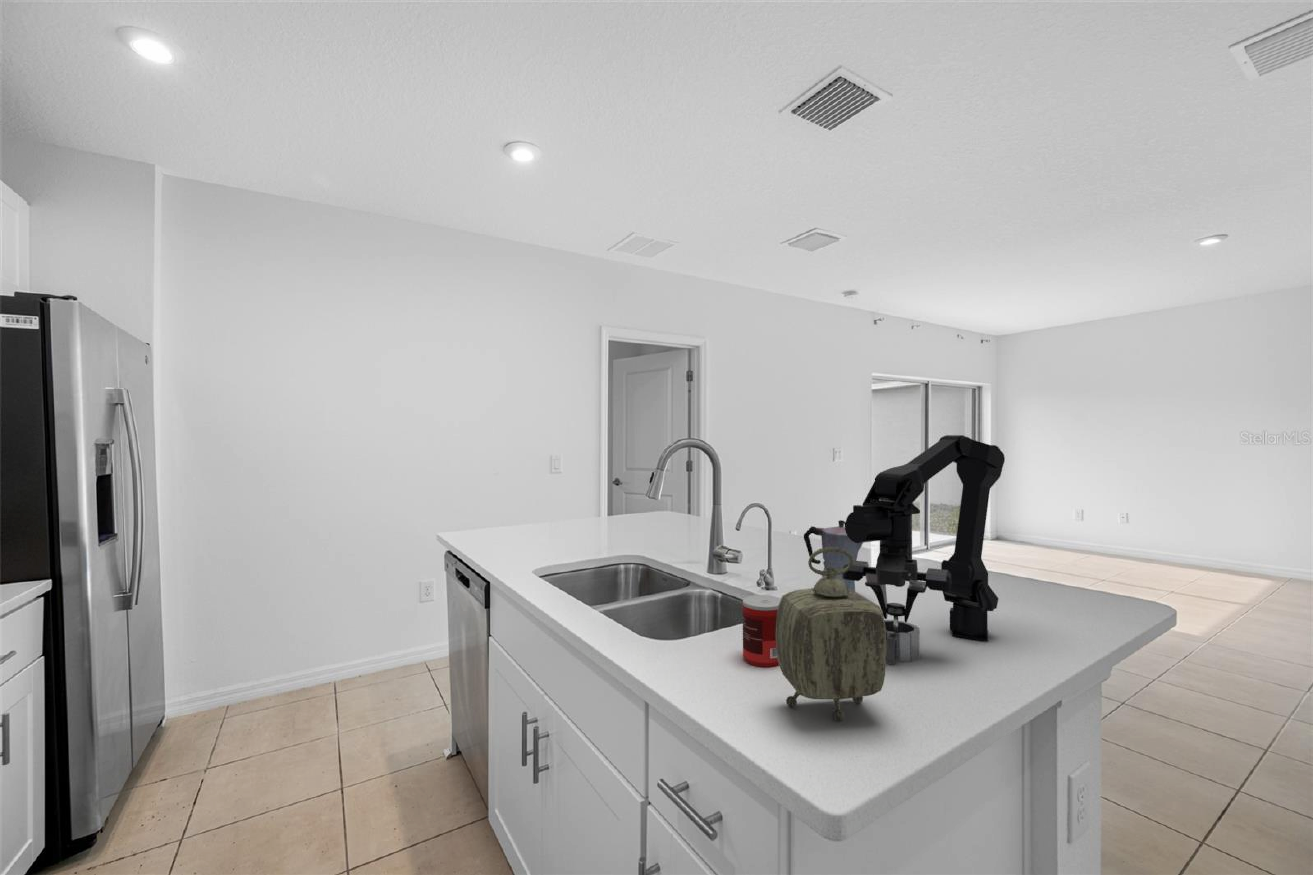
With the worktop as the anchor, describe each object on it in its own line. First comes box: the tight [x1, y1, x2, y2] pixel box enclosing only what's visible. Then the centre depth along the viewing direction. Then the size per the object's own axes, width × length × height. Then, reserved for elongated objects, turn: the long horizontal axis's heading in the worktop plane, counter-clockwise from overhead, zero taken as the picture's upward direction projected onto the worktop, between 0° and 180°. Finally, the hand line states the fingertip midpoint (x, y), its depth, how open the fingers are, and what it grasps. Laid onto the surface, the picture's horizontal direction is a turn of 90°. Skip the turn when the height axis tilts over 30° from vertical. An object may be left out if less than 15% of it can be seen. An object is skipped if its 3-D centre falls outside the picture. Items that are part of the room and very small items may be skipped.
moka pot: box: [803, 519, 864, 592], centre depth 146 cm, size 10×15×20 cm, turn 78°
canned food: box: [742, 594, 782, 668], centre depth 108 cm, size 8×8×11 cm
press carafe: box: [884, 619, 921, 666], centre depth 110 cm, size 8×11×5 cm
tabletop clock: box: [776, 547, 887, 722], centre depth 87 cm, size 14×9×25 cm, turn 97°
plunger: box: [887, 602, 906, 633], centre depth 111 cm, size 5×5×8 cm
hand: (895, 619), depth 111 cm, fingers closed on plunger, 3 cm apart
